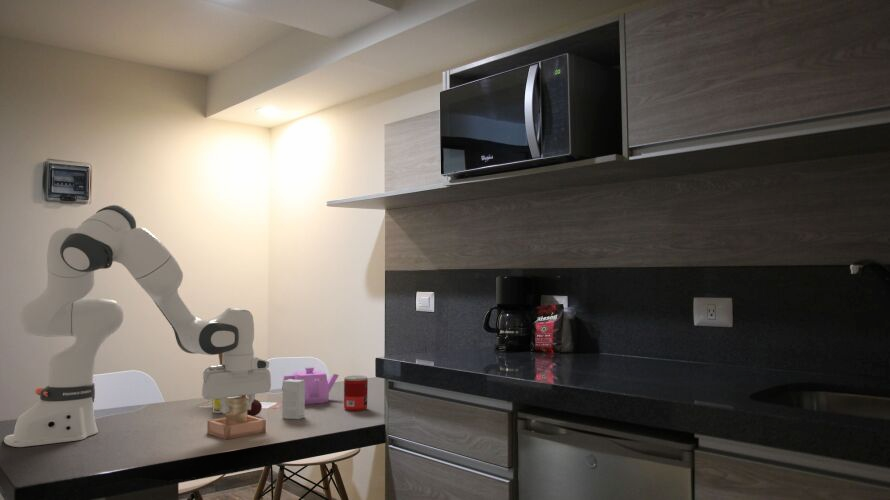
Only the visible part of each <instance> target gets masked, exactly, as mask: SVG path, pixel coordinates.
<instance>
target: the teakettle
mask: <svg viewBox="0 0 890 500" xmlns="http://www.w3.org/2000/svg"><path fill="white" fill-rule="evenodd" d="M304 369H305V370H298V371H293V373H292V374H290V375H283V377H282V378H283V379H282V382H283V381H285V380H289V379H290V380H305V405H315V403H318V404H325V403H324V402H327V403H328V402H329V398H330V397H329V396H330V391H331V389H332V388H333V387H334V385H335V382H336V381H337V379H338V378H339V374H336V373H333V374H332V375H331V377H330V378H329V379H328V377H327V374H326V372H325V371H322V370H319V369H316V370H315V367H314V366H309V367H308V366H307V367H305V368H304ZM281 384H282V385H281V391H282V392H283V383H281Z"/></svg>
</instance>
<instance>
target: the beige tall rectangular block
mask: <svg viewBox="0 0 890 500" xmlns="http://www.w3.org/2000/svg"><path fill="white" fill-rule="evenodd" d="M247 399H248V397H247V396H246V397H241V396H235V397H228V398H227V401H226V405H227V406H228V407H230V413H226V414H225V418H226V425H234V424H240V423H246V422H247Z"/></svg>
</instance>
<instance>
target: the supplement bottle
mask: <svg viewBox="0 0 890 500" xmlns="http://www.w3.org/2000/svg"><path fill="white" fill-rule="evenodd" d="M225 403H226V402H225ZM212 412H213V413H214V414H224V413H223V412H222V406H221V404H220V402H219V399H213V400H212Z"/></svg>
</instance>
